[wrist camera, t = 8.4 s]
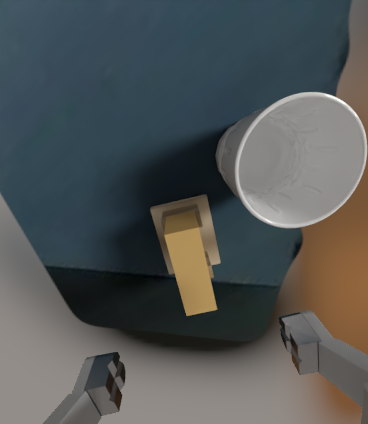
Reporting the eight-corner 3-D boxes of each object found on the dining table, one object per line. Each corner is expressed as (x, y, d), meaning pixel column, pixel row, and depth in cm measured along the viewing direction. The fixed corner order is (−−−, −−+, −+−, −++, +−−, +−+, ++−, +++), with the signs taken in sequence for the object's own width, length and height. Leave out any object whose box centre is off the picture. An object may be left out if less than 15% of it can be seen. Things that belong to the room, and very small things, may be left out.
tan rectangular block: (165, 217, 20) (162, 235, 16) (194, 210, 20) (198, 227, 16) (183, 286, 22) (185, 316, 19) (209, 280, 22) (217, 309, 19)
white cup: (209, 194, 24) (232, 231, 14) (209, 113, 21) (237, 93, 12) (282, 191, 24) (352, 225, 15) (290, 111, 22) (382, 89, 12)
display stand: (151, 206, 24) (146, 219, 20) (205, 194, 24) (211, 204, 20) (169, 269, 26) (168, 291, 23) (218, 258, 26) (226, 278, 22)
